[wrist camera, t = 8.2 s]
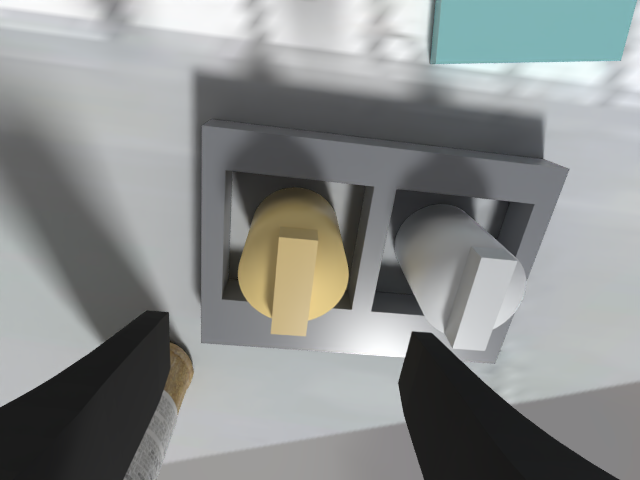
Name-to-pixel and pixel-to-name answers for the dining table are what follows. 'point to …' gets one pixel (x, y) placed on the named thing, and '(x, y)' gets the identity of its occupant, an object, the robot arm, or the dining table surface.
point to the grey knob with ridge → (459, 274)
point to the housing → (359, 228)
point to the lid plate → (529, 30)
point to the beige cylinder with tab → (293, 260)
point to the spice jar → (162, 419)
